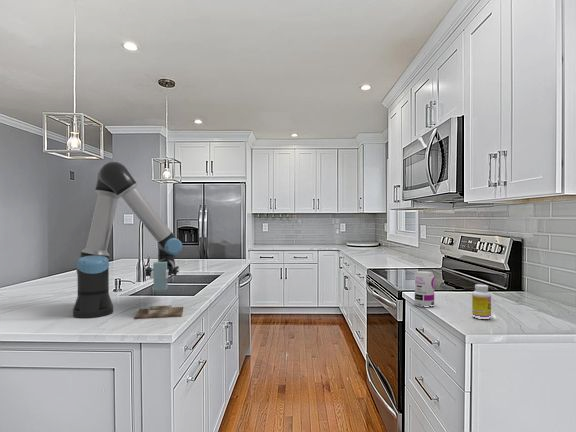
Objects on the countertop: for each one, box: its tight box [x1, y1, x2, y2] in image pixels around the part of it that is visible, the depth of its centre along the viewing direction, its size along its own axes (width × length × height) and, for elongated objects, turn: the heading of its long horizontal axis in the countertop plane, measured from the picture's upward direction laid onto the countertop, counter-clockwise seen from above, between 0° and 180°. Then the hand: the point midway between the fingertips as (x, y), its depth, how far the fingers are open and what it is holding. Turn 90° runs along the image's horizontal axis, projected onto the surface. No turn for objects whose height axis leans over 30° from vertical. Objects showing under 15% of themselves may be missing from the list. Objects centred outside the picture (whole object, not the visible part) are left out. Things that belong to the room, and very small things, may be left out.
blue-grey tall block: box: [152, 261, 168, 292], centre depth 167 cm, size 5×5×11 cm
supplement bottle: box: [471, 283, 492, 317], centre depth 158 cm, size 7×7×13 cm
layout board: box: [133, 304, 184, 320], centre depth 167 cm, size 18×14×2 cm
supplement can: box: [414, 270, 435, 308], centre depth 180 cm, size 8×8×15 cm
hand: (159, 275), depth 162 cm, fingers closed on blue-grey tall block, 5 cm apart
